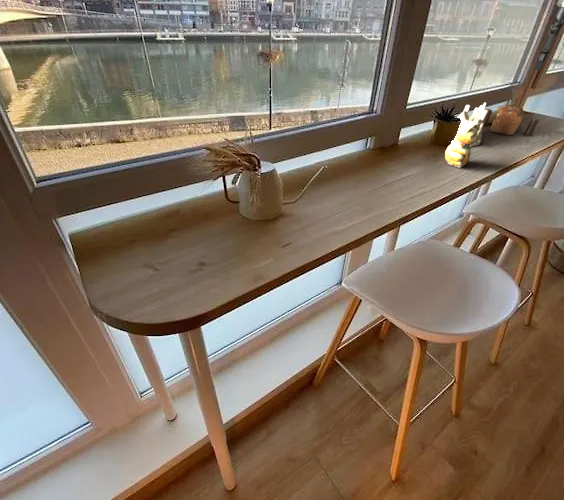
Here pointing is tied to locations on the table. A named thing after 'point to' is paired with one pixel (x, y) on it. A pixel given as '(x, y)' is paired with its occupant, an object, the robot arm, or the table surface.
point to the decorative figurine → (462, 145)
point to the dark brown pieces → (529, 129)
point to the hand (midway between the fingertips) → (536, 69)
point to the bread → (507, 119)
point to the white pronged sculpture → (476, 116)
